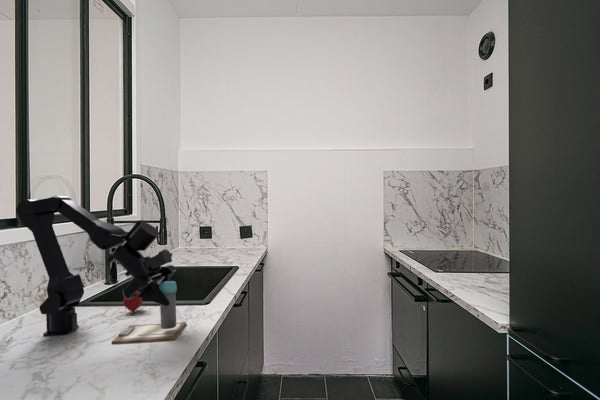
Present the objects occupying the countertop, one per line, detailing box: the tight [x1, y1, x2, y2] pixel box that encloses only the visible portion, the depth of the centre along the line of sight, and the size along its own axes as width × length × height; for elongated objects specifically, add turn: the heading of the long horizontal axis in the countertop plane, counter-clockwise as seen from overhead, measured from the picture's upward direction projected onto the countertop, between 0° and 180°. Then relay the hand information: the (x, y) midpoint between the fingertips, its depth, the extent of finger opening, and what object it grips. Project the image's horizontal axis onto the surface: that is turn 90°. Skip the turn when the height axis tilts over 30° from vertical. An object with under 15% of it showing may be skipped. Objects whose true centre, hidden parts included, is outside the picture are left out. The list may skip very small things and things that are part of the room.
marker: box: [159, 280, 178, 329], centre depth 98 cm, size 4×4×12 cm
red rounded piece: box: [122, 290, 143, 312], centre depth 119 cm, size 6×6×8 cm
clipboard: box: [111, 321, 187, 345], centre depth 98 cm, size 16×12×1 cm
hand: (172, 302), depth 98 cm, fingers closed on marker, 4 cm apart
